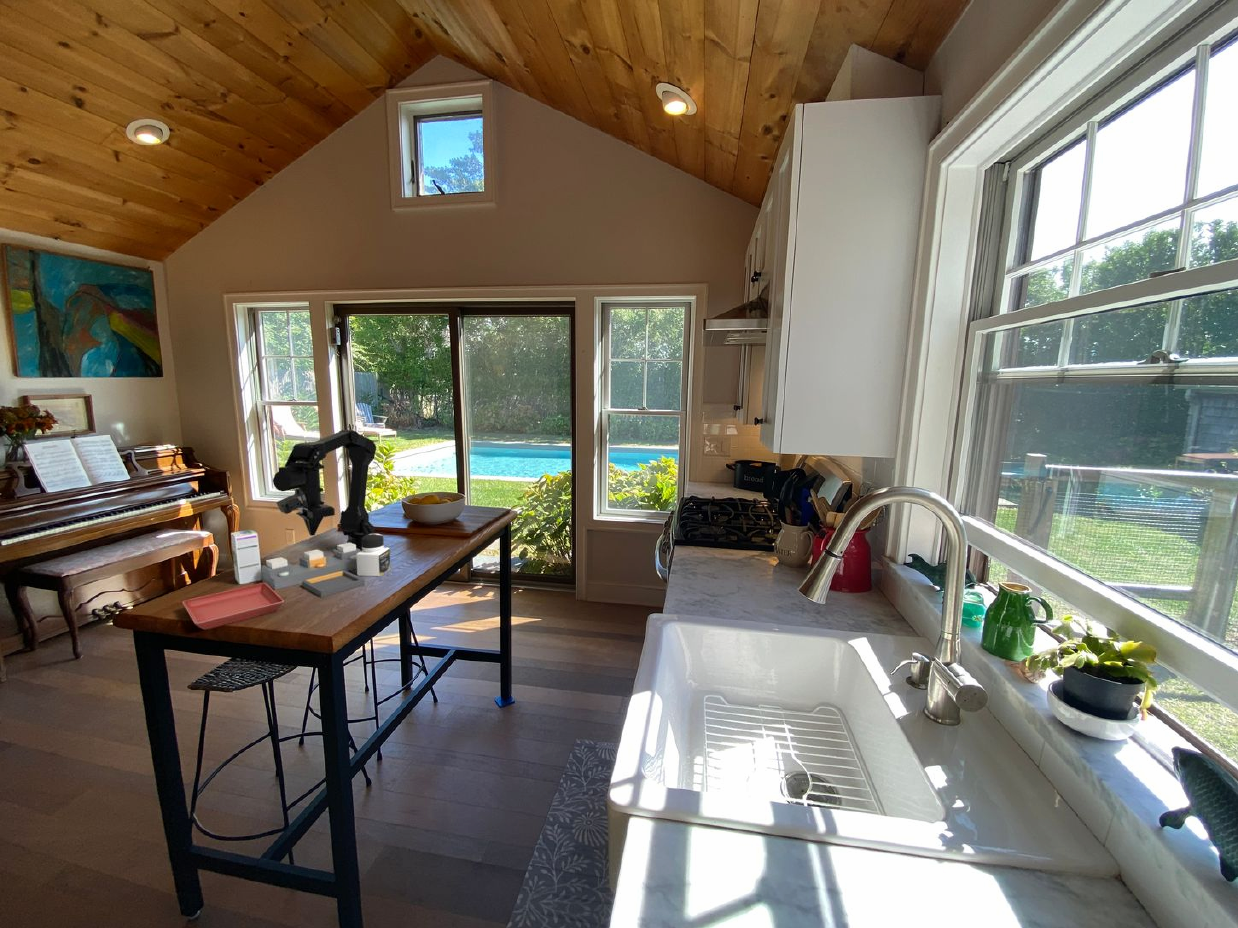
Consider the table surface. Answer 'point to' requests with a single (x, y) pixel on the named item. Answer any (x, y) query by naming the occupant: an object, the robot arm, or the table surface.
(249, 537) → the syrup box
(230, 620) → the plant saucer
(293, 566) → the grey slotted tray
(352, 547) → the breaker
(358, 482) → the robot arm
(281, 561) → the breaker
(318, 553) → the block
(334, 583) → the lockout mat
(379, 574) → the medicine bottle
